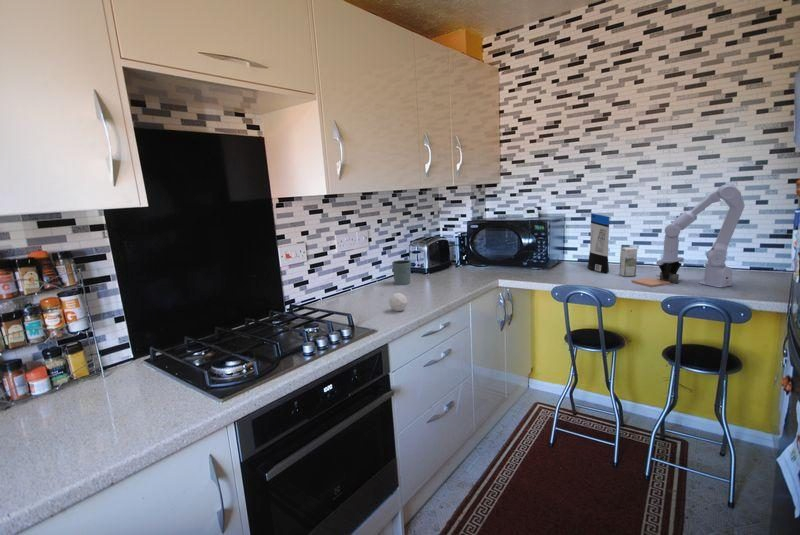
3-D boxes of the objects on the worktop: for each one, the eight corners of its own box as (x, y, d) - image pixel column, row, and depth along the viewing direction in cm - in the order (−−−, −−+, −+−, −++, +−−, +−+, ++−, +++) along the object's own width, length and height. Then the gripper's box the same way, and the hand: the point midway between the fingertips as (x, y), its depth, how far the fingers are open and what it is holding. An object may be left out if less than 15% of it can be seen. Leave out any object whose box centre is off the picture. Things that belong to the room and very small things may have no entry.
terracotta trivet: (669, 284, 192) (670, 281, 192) (651, 287, 189) (651, 285, 189) (649, 279, 203) (649, 277, 202) (631, 282, 199) (631, 280, 199)
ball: (398, 318, 177) (390, 307, 172) (391, 307, 183) (383, 296, 178) (413, 307, 177) (405, 296, 172) (405, 297, 184) (397, 286, 178)
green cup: (400, 280, 233) (399, 259, 231) (415, 282, 227) (414, 260, 225) (389, 284, 225) (388, 262, 223) (405, 286, 219) (403, 264, 217)
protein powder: (597, 274, 219) (599, 217, 213) (581, 265, 243) (582, 213, 237) (616, 273, 218) (619, 216, 212) (598, 264, 242) (599, 212, 236)
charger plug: (680, 282, 193) (680, 274, 192) (674, 283, 192) (674, 275, 191) (660, 278, 203) (660, 270, 202) (654, 279, 202) (655, 271, 201)
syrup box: (630, 273, 215) (632, 246, 213) (636, 276, 210) (637, 248, 207) (619, 274, 216) (620, 246, 213) (624, 276, 210) (625, 248, 207)
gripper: (674, 247, 199) (672, 274, 202) (651, 250, 195) (649, 278, 198) (688, 249, 193) (686, 277, 195) (664, 252, 189) (663, 281, 191)
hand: (668, 278), depth 196 cm, fingers closed on charger plug, 4 cm apart
